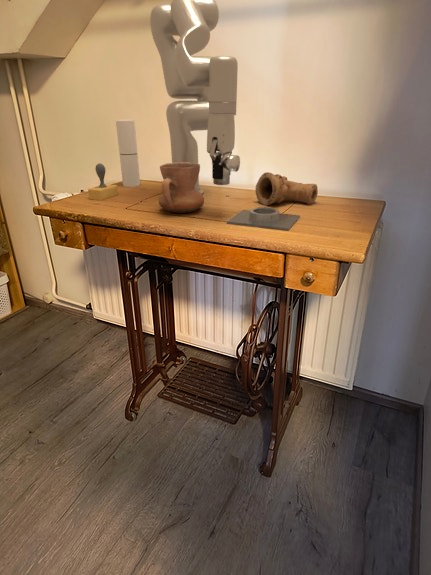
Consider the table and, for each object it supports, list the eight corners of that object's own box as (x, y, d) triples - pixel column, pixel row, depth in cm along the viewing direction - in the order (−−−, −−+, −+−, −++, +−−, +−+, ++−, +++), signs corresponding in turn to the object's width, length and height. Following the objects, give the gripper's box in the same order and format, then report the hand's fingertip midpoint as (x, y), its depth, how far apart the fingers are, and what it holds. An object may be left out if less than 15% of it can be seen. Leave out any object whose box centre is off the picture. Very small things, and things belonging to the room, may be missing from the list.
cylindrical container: (120, 186, 160) (112, 120, 149) (126, 183, 166) (119, 119, 156) (136, 187, 159) (130, 120, 148) (142, 183, 165) (136, 119, 154)
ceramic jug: (178, 202, 135) (176, 159, 129) (214, 207, 129) (214, 162, 122) (145, 214, 121) (141, 167, 115) (184, 220, 114) (182, 170, 108)
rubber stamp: (101, 200, 138) (96, 165, 133) (88, 199, 141) (83, 164, 136) (119, 195, 147) (115, 161, 141) (106, 193, 149) (102, 161, 144)
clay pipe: (265, 207, 142) (247, 203, 129) (269, 177, 140) (252, 170, 127) (315, 212, 133) (301, 208, 120) (321, 180, 131) (307, 173, 118)
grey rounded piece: (210, 184, 114) (210, 153, 110) (217, 180, 118) (217, 151, 114) (233, 186, 111) (234, 155, 107) (239, 183, 115) (240, 153, 111)
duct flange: (226, 223, 111) (226, 213, 110) (243, 211, 123) (243, 202, 121) (288, 230, 105) (289, 220, 103) (300, 217, 116) (300, 208, 115)
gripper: (221, 106, 114) (221, 170, 122) (196, 110, 100) (197, 181, 109) (246, 107, 111) (243, 172, 120) (223, 111, 97) (222, 184, 106)
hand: (221, 176), depth 114 cm, fingers closed on grey rounded piece, 4 cm apart
